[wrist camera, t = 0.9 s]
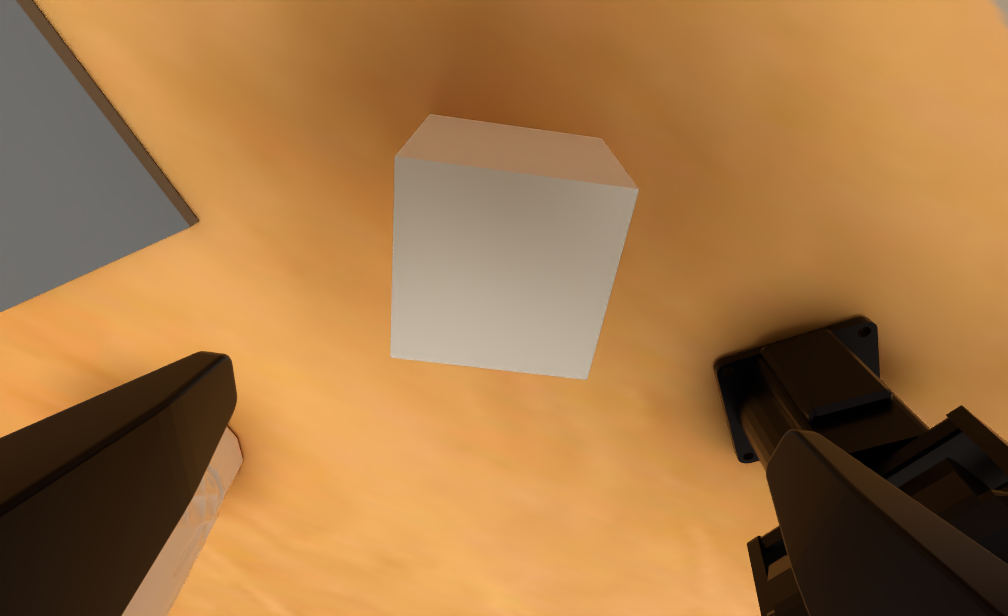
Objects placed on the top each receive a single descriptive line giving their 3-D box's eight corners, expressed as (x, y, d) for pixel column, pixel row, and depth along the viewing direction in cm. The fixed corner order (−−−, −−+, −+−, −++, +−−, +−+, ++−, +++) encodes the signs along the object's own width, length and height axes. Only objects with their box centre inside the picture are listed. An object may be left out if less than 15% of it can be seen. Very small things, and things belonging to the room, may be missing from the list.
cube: (601, 137, 18) (639, 189, 12) (568, 287, 21) (587, 380, 15) (429, 113, 17) (394, 155, 12) (421, 269, 20) (390, 357, 15)
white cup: (233, 513, 28) (108, 737, 19) (81, 462, 26) (-133, 685, 17) (274, 422, 24) (145, 645, 16) (103, 355, 22) (-152, 568, 14)
